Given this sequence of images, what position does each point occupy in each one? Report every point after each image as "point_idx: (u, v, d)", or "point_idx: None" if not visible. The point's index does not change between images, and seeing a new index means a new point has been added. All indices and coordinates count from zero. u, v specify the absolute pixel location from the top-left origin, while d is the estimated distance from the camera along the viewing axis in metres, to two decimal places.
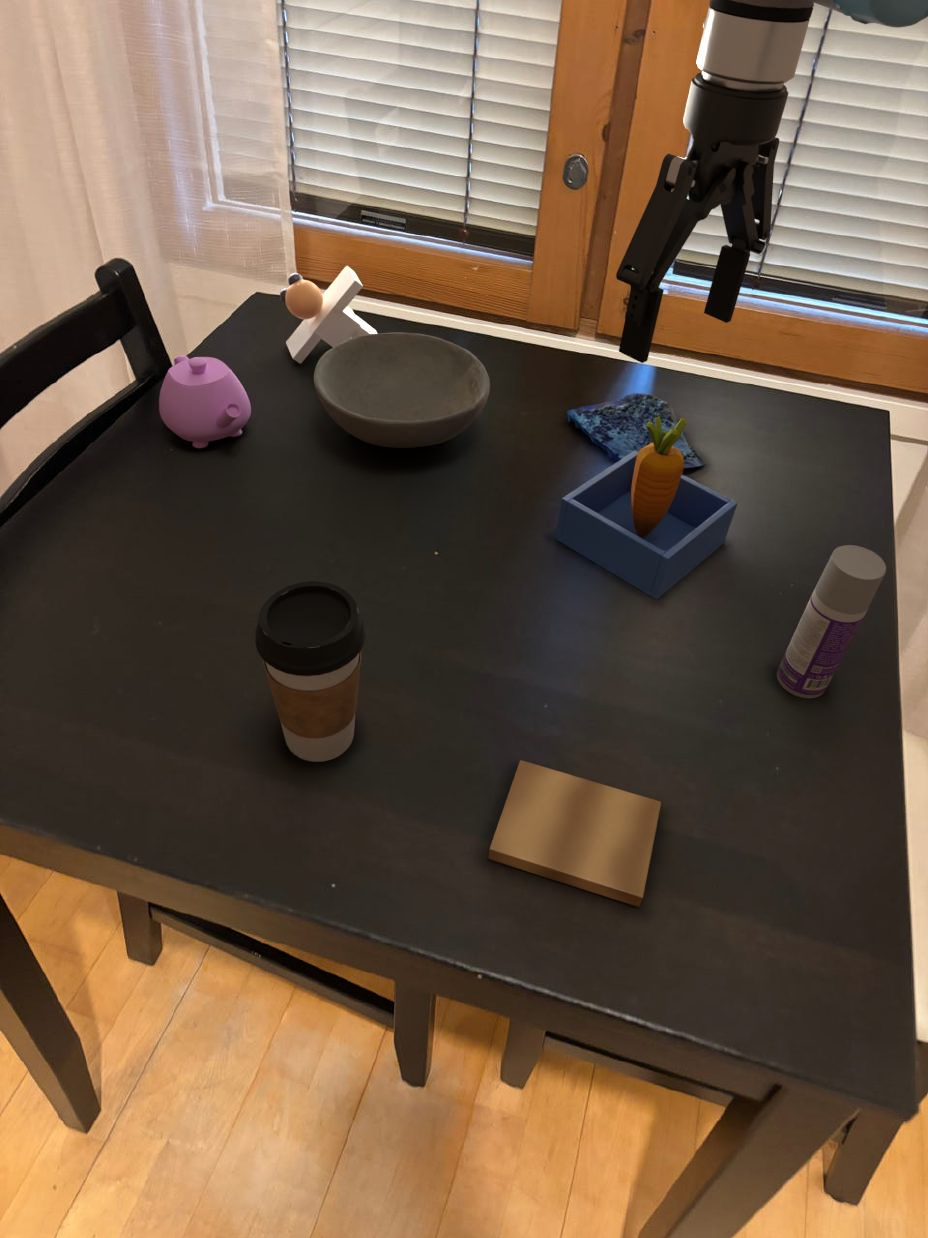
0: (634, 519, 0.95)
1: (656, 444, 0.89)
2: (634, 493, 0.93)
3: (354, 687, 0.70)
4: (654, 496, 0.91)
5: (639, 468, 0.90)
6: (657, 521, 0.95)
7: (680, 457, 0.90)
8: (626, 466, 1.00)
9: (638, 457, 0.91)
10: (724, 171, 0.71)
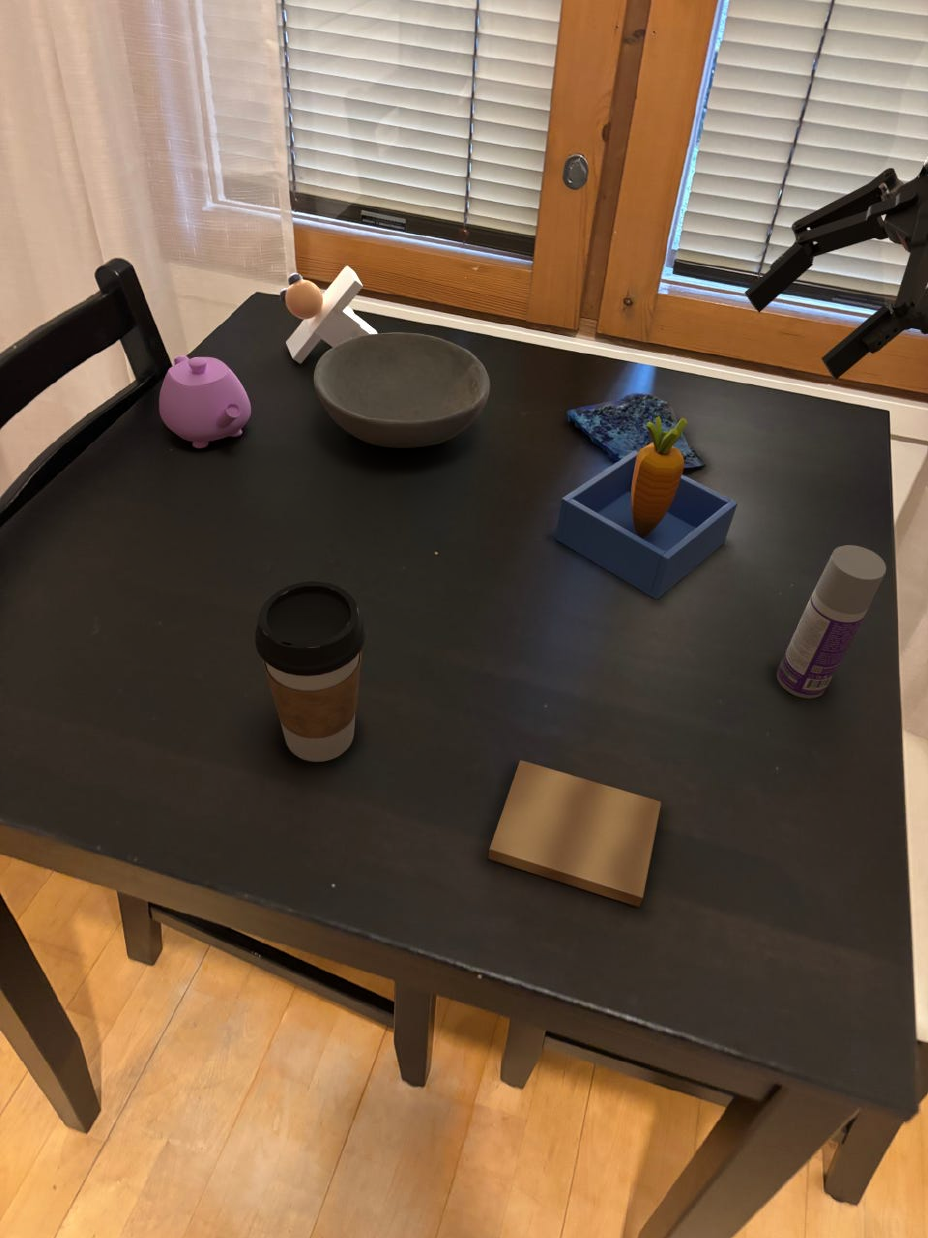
0: (634, 519, 0.95)
1: (656, 444, 0.89)
2: (634, 493, 0.93)
3: (354, 687, 0.70)
4: (654, 496, 0.91)
5: (639, 468, 0.90)
6: (657, 521, 0.95)
7: (680, 457, 0.90)
8: (626, 466, 1.00)
9: (638, 457, 0.91)
10: None
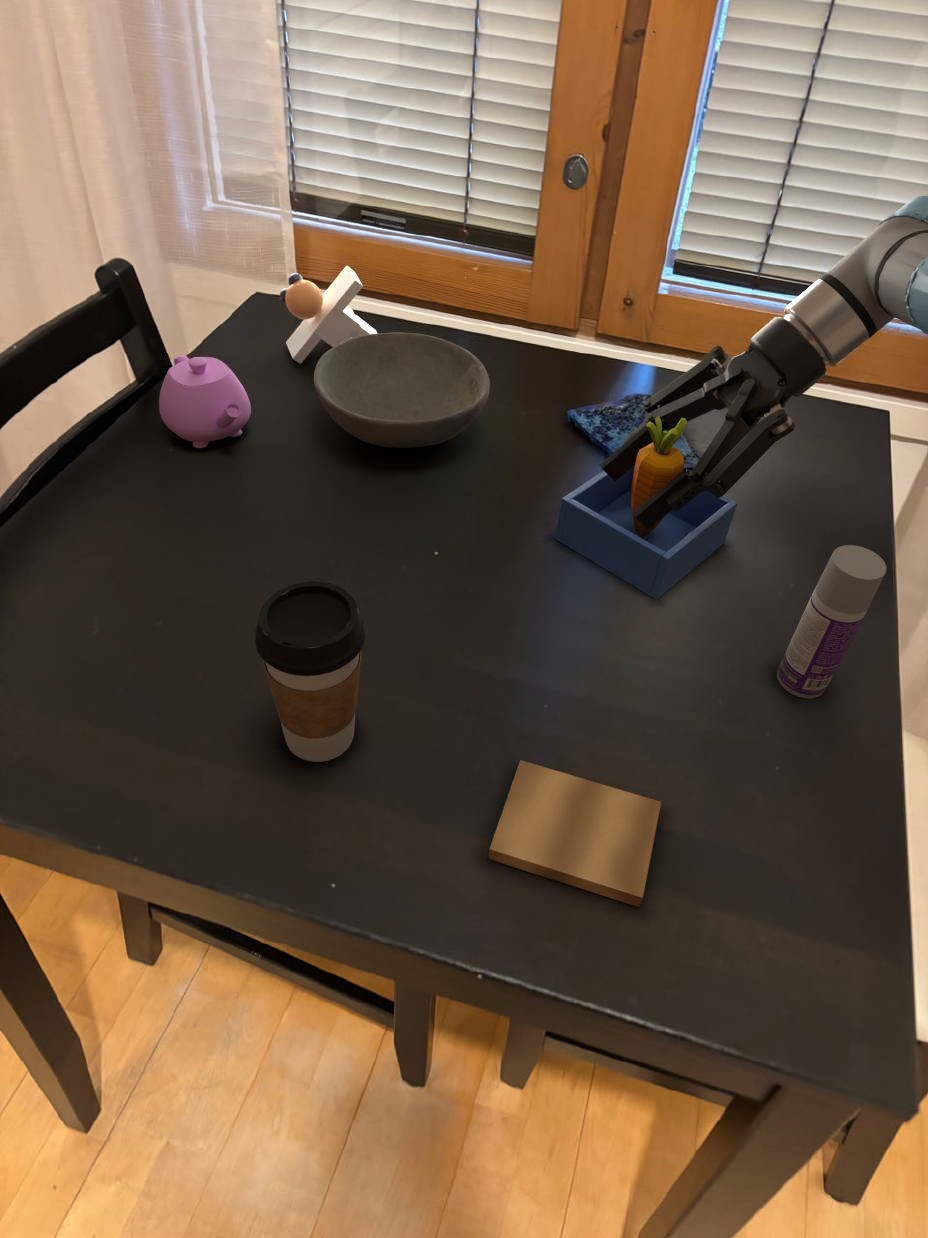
0: (634, 519, 0.95)
1: (656, 444, 0.89)
2: (634, 493, 0.93)
3: (354, 687, 0.70)
4: None
5: (639, 468, 0.90)
6: None
7: (680, 457, 0.90)
8: None
9: (638, 457, 0.91)
10: None
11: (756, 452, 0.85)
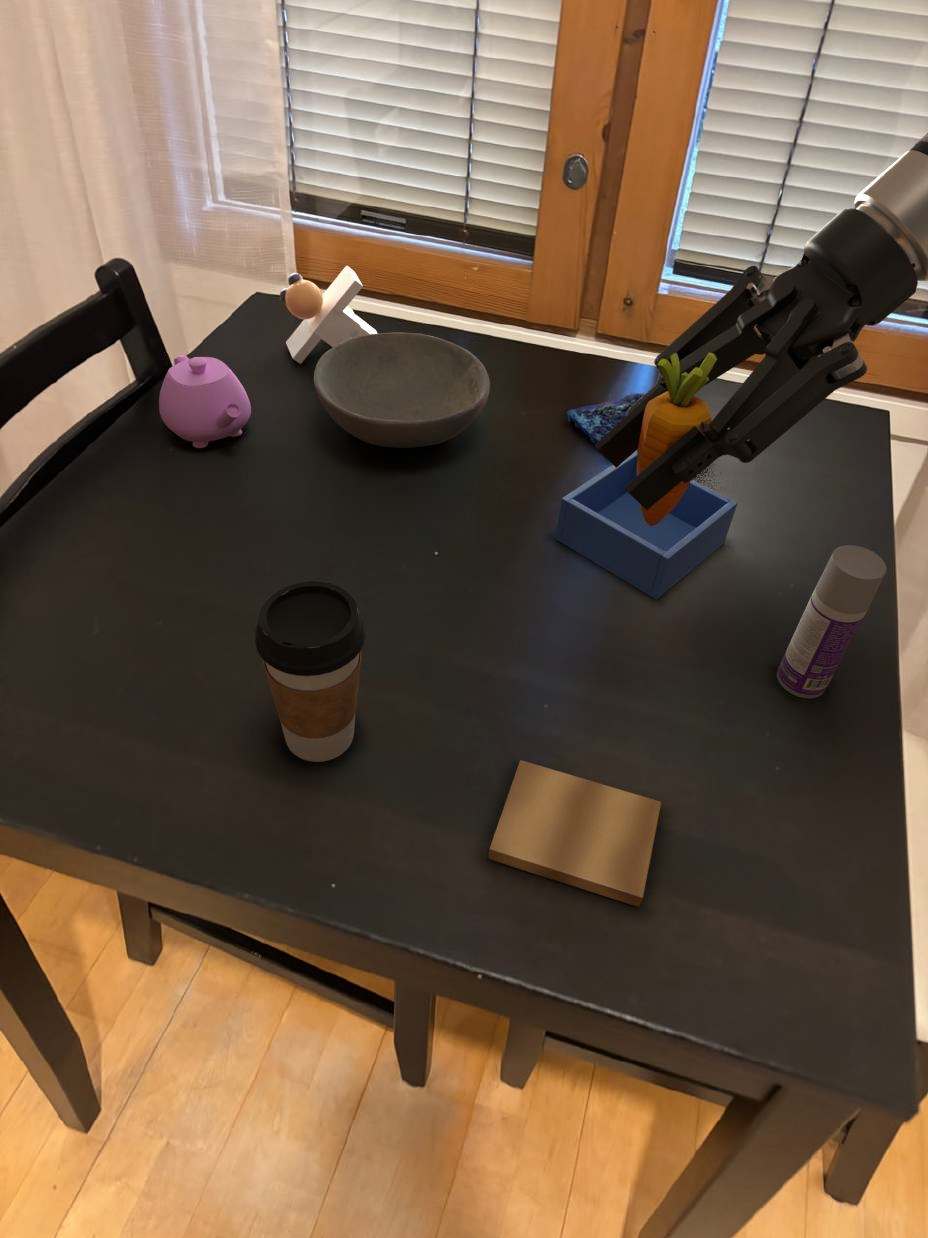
0: None
1: (672, 391, 0.63)
2: (641, 463, 0.67)
3: (354, 687, 0.70)
4: None
5: (648, 427, 0.64)
6: (673, 503, 0.68)
7: (706, 410, 0.64)
8: (626, 466, 1.00)
9: (647, 411, 0.65)
10: None
11: (805, 403, 0.59)
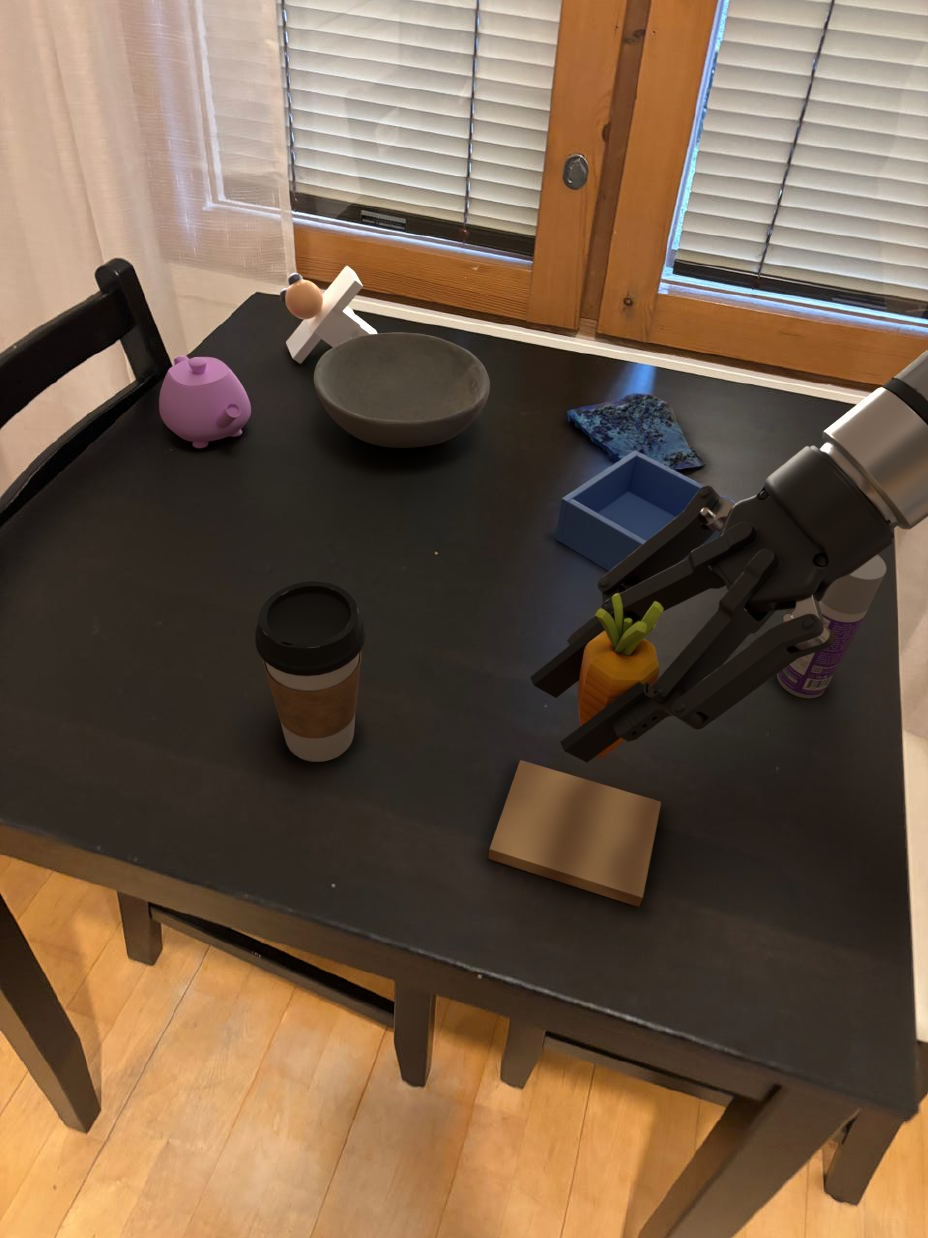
0: None
1: (613, 640, 0.55)
2: (581, 706, 0.58)
3: (354, 687, 0.70)
4: None
5: (587, 674, 0.56)
6: (619, 743, 0.60)
7: (653, 659, 0.55)
8: (626, 466, 1.00)
9: (586, 655, 0.57)
10: None
11: (763, 673, 0.51)
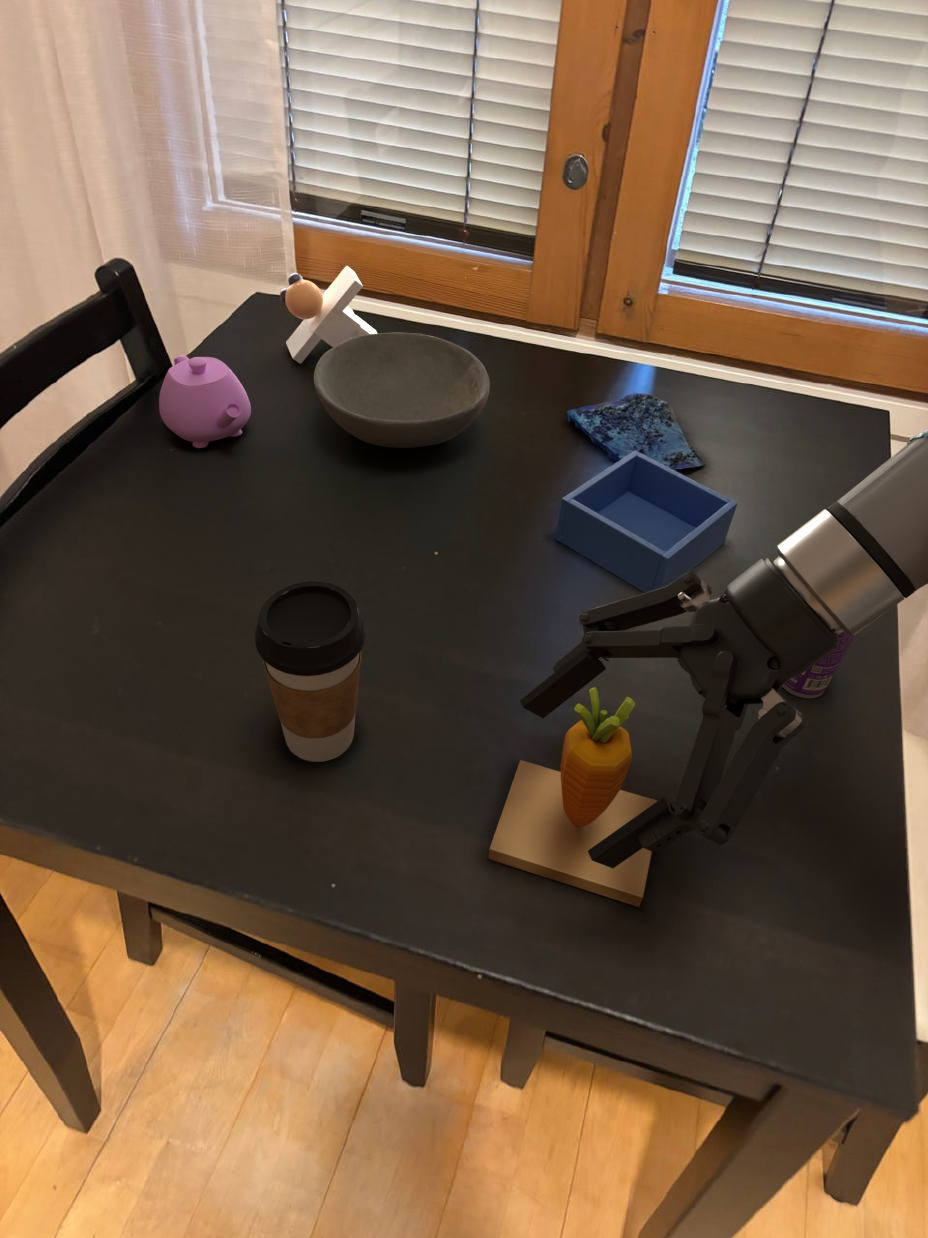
0: (565, 810, 0.67)
1: (590, 730, 0.61)
2: (563, 785, 0.65)
3: (354, 687, 0.70)
4: (589, 795, 0.63)
5: (567, 759, 0.62)
6: (597, 816, 0.67)
7: (626, 747, 0.62)
8: (626, 466, 1.00)
9: (566, 741, 0.63)
10: None
11: (761, 769, 0.55)
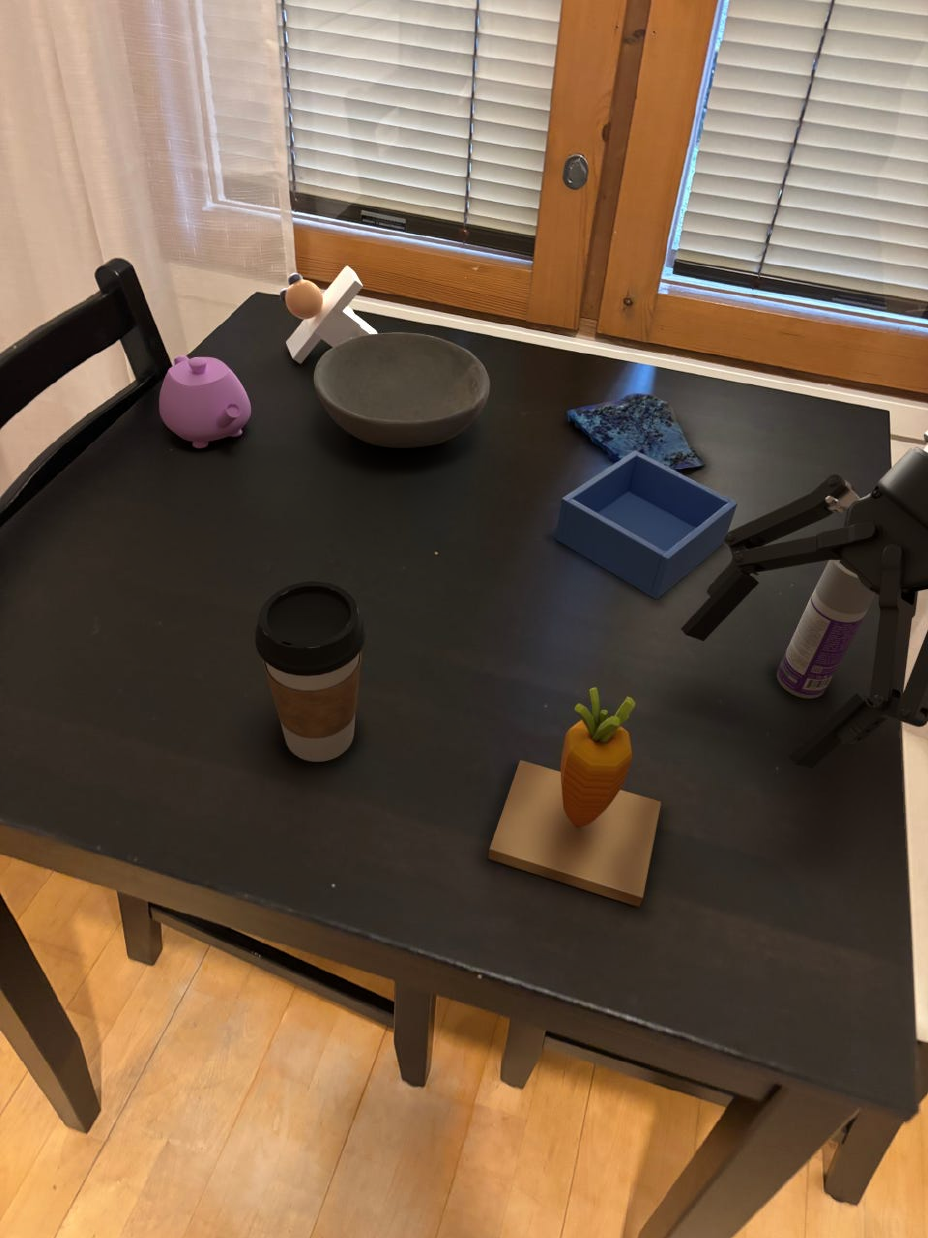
0: (565, 810, 0.67)
1: (590, 730, 0.61)
2: (563, 785, 0.65)
3: (354, 687, 0.70)
4: (589, 795, 0.63)
5: (567, 759, 0.62)
6: (597, 816, 0.67)
7: (626, 746, 0.62)
8: (626, 466, 1.00)
9: (566, 741, 0.63)
10: (866, 523, 0.62)
11: None
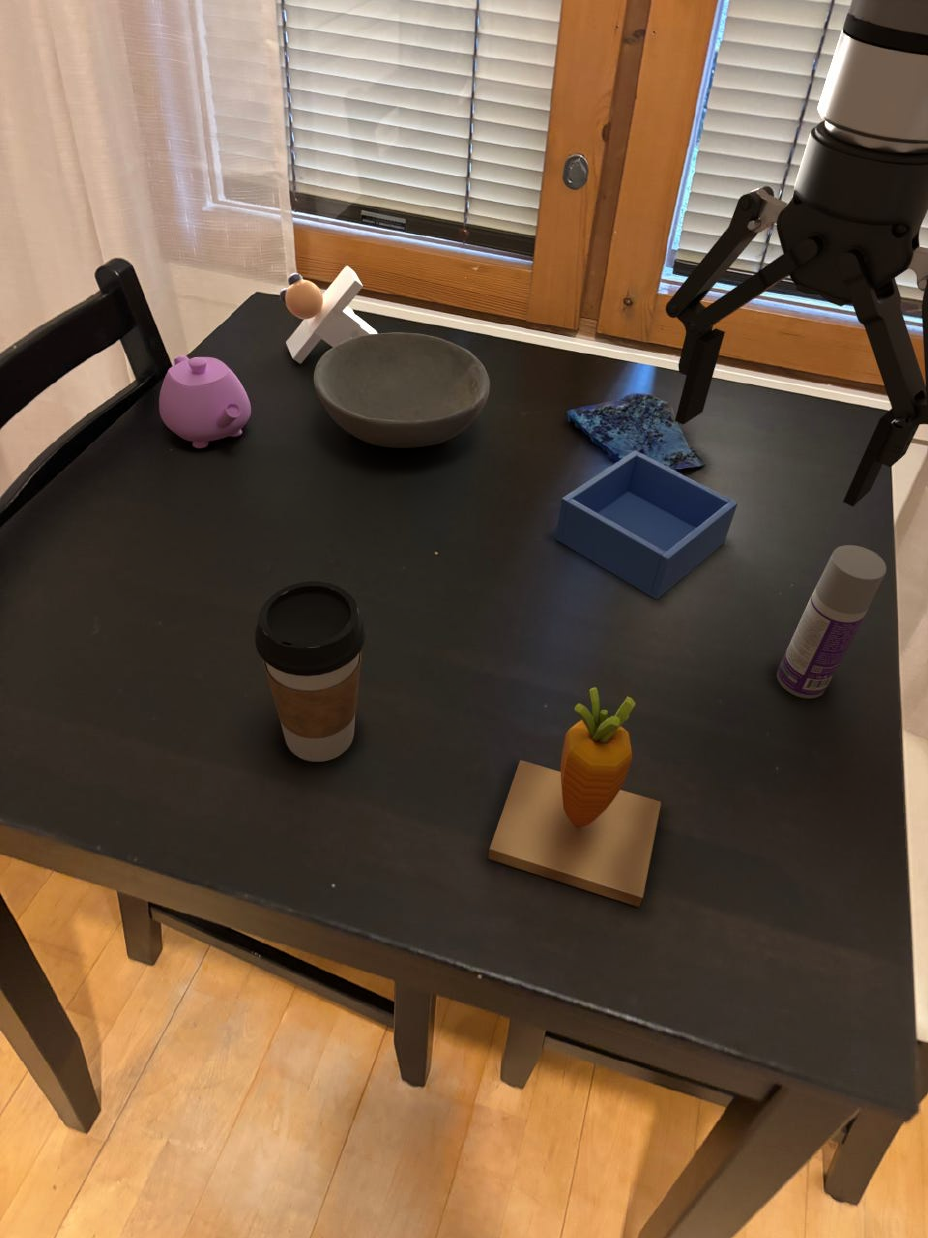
0: (565, 810, 0.67)
1: (590, 730, 0.61)
2: (563, 785, 0.65)
3: (354, 687, 0.70)
4: (589, 795, 0.63)
5: (567, 759, 0.62)
6: (597, 816, 0.67)
7: (626, 746, 0.62)
8: (626, 466, 1.00)
9: (566, 741, 0.63)
10: (804, 239, 0.53)
11: None
